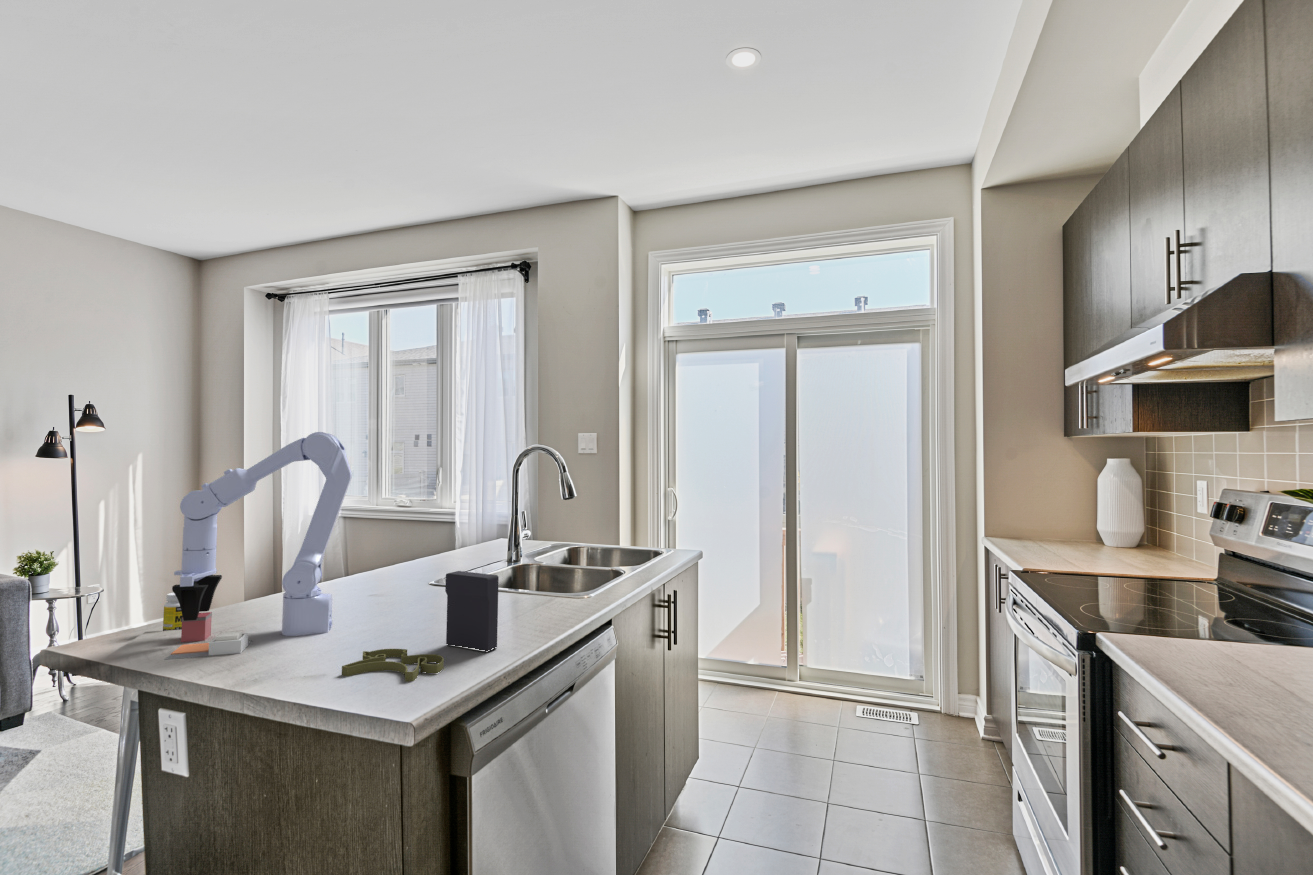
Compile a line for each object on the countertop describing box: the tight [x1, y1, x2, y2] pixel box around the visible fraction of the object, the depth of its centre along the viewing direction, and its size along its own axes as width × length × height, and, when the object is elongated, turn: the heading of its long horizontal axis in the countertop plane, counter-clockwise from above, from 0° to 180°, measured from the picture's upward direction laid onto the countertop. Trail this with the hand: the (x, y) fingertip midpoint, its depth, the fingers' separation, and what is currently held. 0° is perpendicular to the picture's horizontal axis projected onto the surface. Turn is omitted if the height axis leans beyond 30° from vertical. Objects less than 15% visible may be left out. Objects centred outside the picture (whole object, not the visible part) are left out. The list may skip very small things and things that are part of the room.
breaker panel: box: [164, 632, 253, 661], centre depth 122 cm, size 12×9×4 cm
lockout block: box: [180, 611, 213, 643], centre depth 130 cm, size 4×4×6 cm
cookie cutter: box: [341, 648, 445, 682], centre depth 117 cm, size 18×12×2 cm, turn 79°
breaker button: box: [214, 630, 244, 641], centre depth 122 cm, size 4×4×3 cm
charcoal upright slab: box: [444, 570, 500, 651], centre depth 130 cm, size 11×4×15 cm, turn 65°
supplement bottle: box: [162, 592, 183, 632], centre depth 139 cm, size 5×5×8 cm
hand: (196, 615), depth 130 cm, fingers open, 7 cm apart
